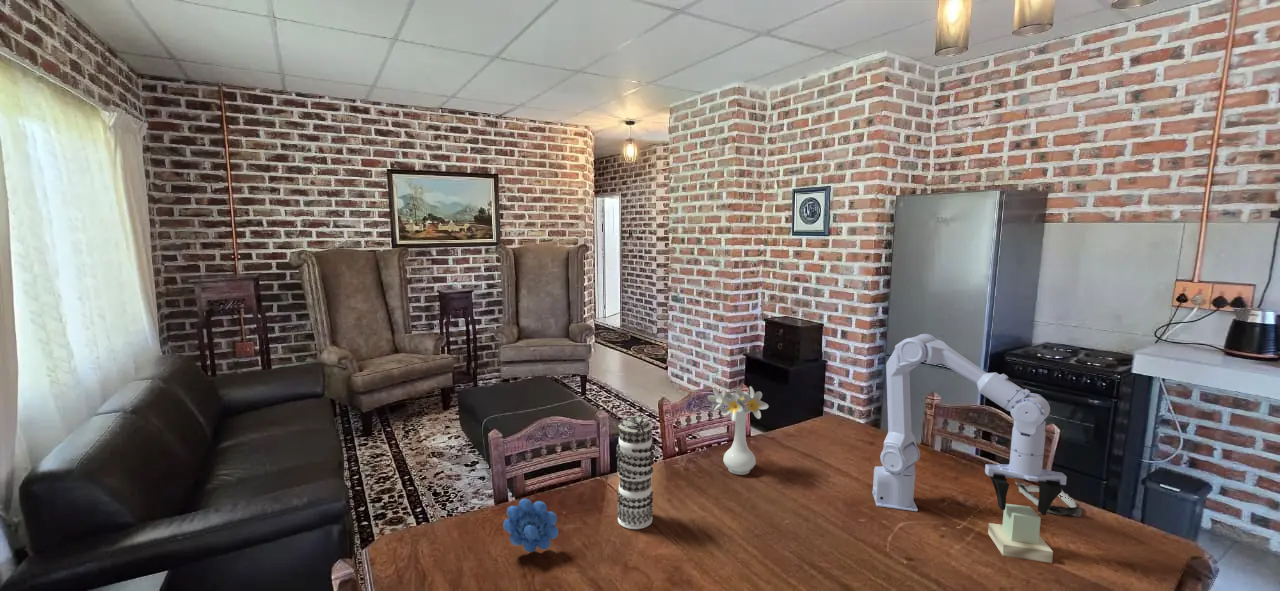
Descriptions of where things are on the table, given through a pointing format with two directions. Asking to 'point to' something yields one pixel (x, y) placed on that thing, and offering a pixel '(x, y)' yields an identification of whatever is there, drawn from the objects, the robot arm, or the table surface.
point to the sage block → (1021, 523)
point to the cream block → (1019, 546)
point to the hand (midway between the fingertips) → (1021, 510)
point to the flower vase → (738, 425)
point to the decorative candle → (635, 473)
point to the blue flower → (531, 525)
